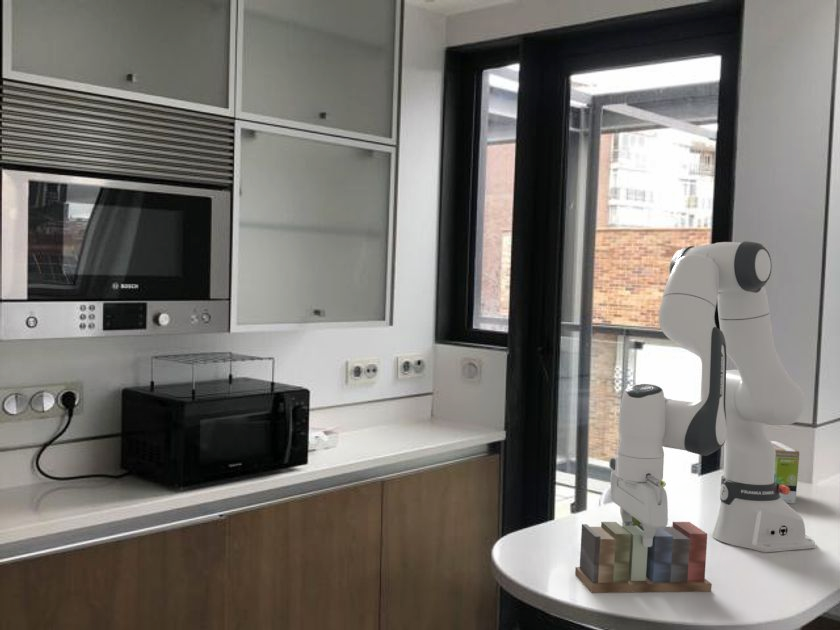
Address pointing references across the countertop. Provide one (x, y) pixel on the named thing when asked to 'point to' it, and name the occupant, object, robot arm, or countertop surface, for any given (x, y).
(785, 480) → the tea box
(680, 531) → the book rack
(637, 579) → the pale green box
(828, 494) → the countertop surface
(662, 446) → the robot arm
